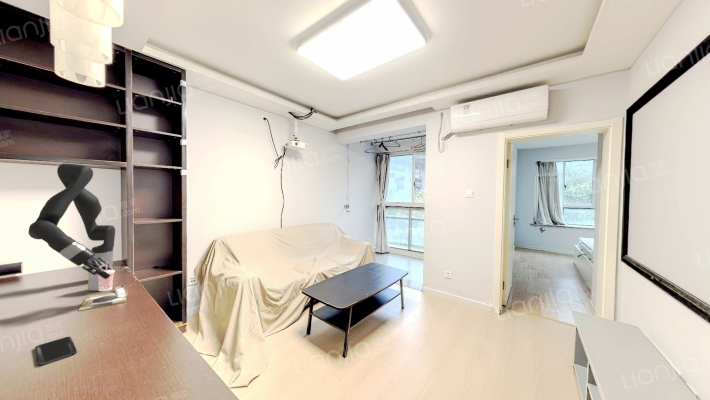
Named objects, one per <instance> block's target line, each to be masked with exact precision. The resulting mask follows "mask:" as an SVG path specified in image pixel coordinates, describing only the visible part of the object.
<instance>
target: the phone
mask: <svg viewBox="0 0 710 400" xmlns="http://www.w3.org/2000/svg"><path fill="white" fill-rule="evenodd" d="M34 351H35V356H36V362H37V366H38V367H42V366H45V365H49V364H51V363H54V362H58V361H60V360H64V359H66V358H69V357H71V356H74V355H76V354H77V353H78V352H77V351H78V350H77V348H76V345H75V344H74V341H73V339H72V337H71V336H66V337H62V338H59V339H58V338H57V339H55V340H52V341H48V342H45V343H41V344H39V345H36V346H35V347H34Z"/></svg>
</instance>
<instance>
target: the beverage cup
mask: <svg viewBox="0 0 710 400" xmlns="http://www.w3.org/2000/svg"><path fill="white" fill-rule="evenodd" d="M107 262H108V261H106V270H104V271H105V272H106V273H108V274H109V275H110V277H108V278H107V279H104V278H103V277H101V276H100V275H99V274H98V282H99V290H98V291H99V292H107V291H111V290H112V289H113V287H112V285H113V286H114V276H115V273H116V270H115V269H113V270H107ZM114 272H115V273H114Z"/></svg>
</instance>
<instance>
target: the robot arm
mask: <svg viewBox="0 0 710 400" xmlns="http://www.w3.org/2000/svg"><path fill="white" fill-rule="evenodd" d="M56 171H57V172H56V173H57V176H58V178H59V180H60V182H61V183H62V184H63V186H64V189H62V190H61V191H59V192H57V193H56V194H54V195H52V196H51V197H50V198H48V200H47V201H46V202H45V203H44V205H43V206H42V209H41V210H40V212H39V215H38V217H37V219H36V220H35V221H34V222H33V223H31V224H30V225H29V228H28V236H29V237H31V238H32V239H35V240H42V241H44V242H45V243H47V245H48V247H50V248H51V249H52V250H54V251H55V252H57V253H58V254H60V255H61V256H62V257H64V258H65V259H66V260H68V261H69V262H71V263H72V264H74V265H76V266H77V267H78V266H79V267H80V266H82V265H83V266H82V267H81V268H82V269H83V270H85V271H86V272H88V273H89V272H90V273H91V274H93V275H98V274H99V275H100V276H101V277H103V278H104V279H107V278H108V277H110V275H109V274H108V273H106V272H105V271H103V270H106V261H108V262H107V270H112V269H113V265H114V263H113V262H114V247H115V239H116V238H115V237H116V228H115V226H114V225H109V224H107V225H102V224H101V225H99V224H97V222H96V220H97V218H98V217H99V215H100V214H101V212H102V205H101V203H100V201H99V200H100V199H98V197H97V196H96V195H95V194H93V193H92V192H90V191H89V190H88V189H86V188H85V187H86V186H88V184H89V183H90V182H91V180H93V179H92V178H93V177H94V171H93V168H92V167H90V166H89V165H83V164H76V163H75V164H73V163H62V164H60V165H59V166H58V167H57V170H56ZM72 202H73V204H74V207H75V209H76V210H77V213H78V215H79V216H80V218H81V220H82V222H83V227H84V228H85V229H84V230H85V232H86V234H87V238H88V239H89V240H91V241H93V242H94V241H95V242H97V241H99V242H100V241H103V243H101V244H100V245H97V246H93V247H91V249H90V248H88V247H87V246H86V245H83V244H82V243H80V242H78V241H76V240H75V239H73V238H72V237H70V236H69V235H68V234H66V233H65V232H64V231H63V230H62V229H61V228H60V227H58V224H59V222H60V220H61V219H62V218H63V216H64V215H65V213H66V211H67V210H68V208H69V206H70V205H71V203H72ZM113 270H114V269H113ZM115 273H116V271H115V272H114V274H115Z"/></svg>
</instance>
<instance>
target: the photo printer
mask: <svg viewBox="0 0 710 400" xmlns="http://www.w3.org/2000/svg"><path fill="white" fill-rule="evenodd" d="M112 270H114V269H112ZM103 271H104V270H103ZM87 279H88V282H87V290H88V291H99V282H98V275H93V274H91V273H90V272H88V278H87ZM113 286H114V284H113V285H112V288H113Z"/></svg>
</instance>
